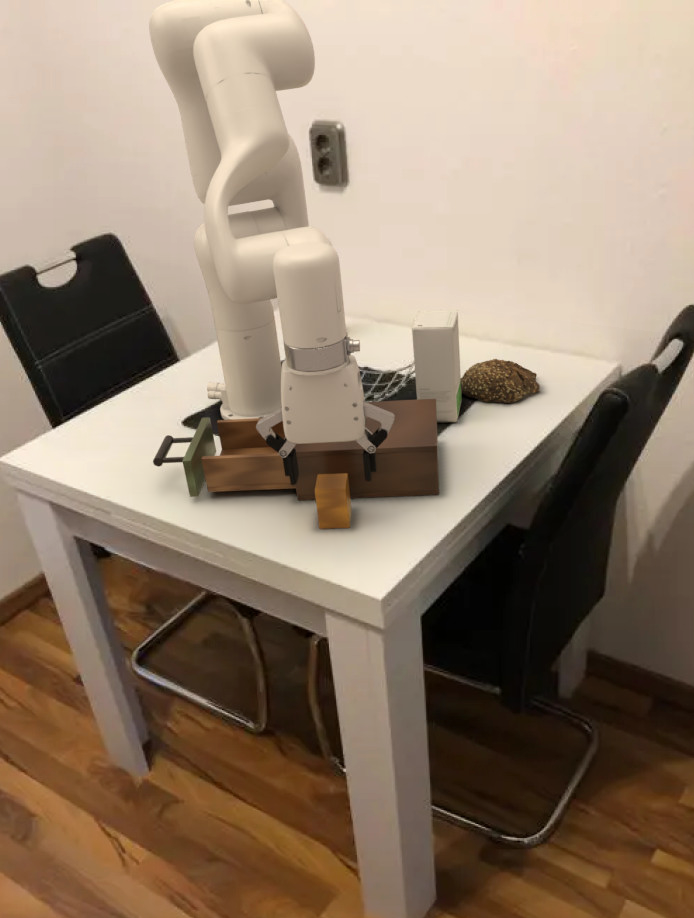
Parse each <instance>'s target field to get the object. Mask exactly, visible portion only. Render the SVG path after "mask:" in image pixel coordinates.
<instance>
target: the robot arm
mask: <svg viewBox="0 0 694 918" xmlns="http://www.w3.org/2000/svg"><path fill="white" fill-rule="evenodd" d="M148 30H149V37H150V43H151V47H152V51H153V54H154V57H155V59H156V63H157V64H158V65H157V66H158V67H159V69H160V72H161V73H162V75H163V77H164V79H165V81H166V83H167V85H168V87H169V88H170V91H171V93H172V94H173V96H174V99H175V102H176V104H177V107H178V111H179V114H180V115H179V116H180V120H181V126H182V131H183V138H184V143H185V149H186V153H187V158H188V164H189V169H190V174H191V179H192V184H193V187H194V191H195V194H196V196H197V199H199V200H200V202H201V203H202V204H203V205H204V208H203V220H204V221H203V223H202V224H201V225H200V226H199V227H198V228H197V229H196V231H195V233H194V237H193V246H194V252H195V256H196V259H197V262H198V265H199V269H200V271H201V274H202V277H203V280H204V283H205V287H206V289H207V294H208V298H209V303H210V307H211V308H210V309H211V313H212V319H213V324H214V329H215V334H216V340H217V341H216V342H217V346H218V352H219V357H220V362H221V369H222V374H223V375H222V376H223V379H224V380H223V381H224V383H220V382H213V381H212V382H211V381H210V382H208V383H207V385H206V390H207V391H206V392H207V399H209V400H220V401H221V402H222V404H221V405H220V408H219V410H220V416H221V418H222V420H232V419H252V418H262V419H260V420H259V421H258V422H257V425H256V429H257V430H258V432H259V433H260V434H261V436H262V437H263V438H264V439H265V440H266V443H267V445H269V446H270V447H271V448H273V449H274V450H275V451H277V452H278V453H279V456H280V457H282V458H283V465H284V471H285V476H289V477H290V483H291V485H295V484H297V480H298V476H299V470H298V463H297V456H296V449H294V447H295V445H296V444H309V443H329V442H346V441H356V442H357V443H358V444H360V445H361V446H362V447H363V448H364V450H363V462H364V472H365V481H366V480H367V481H371V477H372V472H376V470H377V465H376V454H375V451H376V448H377V447H378V446H379V445H380V444H381V443H382V442H383V441H384V440H385V439H386V438H387V435H388V433H389V431H390V429H391V427H392V425H393V423H394V419H395V415H394V414H393V413H391V412H389V411H386V410H384V409H381V408H379V407H376V406H374V405H371V404H369V403H367V402H368V401H366V400H365V393H364V386H363V382H362V376H361V372H360V368H359V365H358V361H357V358H356V356H355V355H353V354H354V353H355V352H360V351H361V342H360V339H355V340H354V338H353V339H352V338H351V337H350V336H349V335H348V332H347V326H346V313H345V305H344V304H345V303H344V294H343V285H342V274H341V265H340V257H339V255H338V252H337V250H336V249H335V248H334V247H333V244H332V243H333V242H332V241H331V239H330V238H329V237H327V236H326V234H325V233H324V231H322V230H321V229H320V228H318V227H315V226H310V222H309V215H308V207H307V206H308V205H307V200H306V189H305V183H304V173H303V168H302V161H301V158H300V153H299V150H298V147H297V145H296V143H295V140H294V139H293V137H292V136H291V135H290V133H289V132H288V130H287V125H286V122H285V117H284V115H283V111H282V109H281V108H282V107H281V105H280V101H279V97H278V95H277V92H280V91H286V90H294V89H300V88H303V87H305V86H308V85H309V83H310V82H311V81H312V79H313V77H314V73H315V69H316V57H315V50H314V45H313V41H312V38H311V35H310V31H309V30H308V27H307V26H306V24H305V22H304V20H303V18H302V17H301V16H300V14H299V13H298V12H297V11H296V10H295V9H294V7H293V6H292V5H290V4H289V3H287V2H286V1H285V0H171V1H167V2H164V3H163V4H160V5H159V6H157V7H156V8H155V9H154V10H153V11H152V12H151V14H150V17H149V23H148ZM267 200H270V201H271V202H272V203H273V206H272V207H267V208H261V209H255V210H246V211H242V212H236V213H230V214H229V207H231V206H238V205H244V204H250V203H255V202H262V201H267ZM275 299H277V305H278V312H279V318H280V326H281V333H282V341H283V347H284V355H285V360H283V361H281V353H280V347H279V340H278V331H277V325H276V317H275V311H274V307H273V304H272V301H271V300H275ZM367 417H369V418H372V419H374V420H377V421H379V422H381V425H380V427H379V428H378V429H377V430H376V431H375V432H374V433H371V432H370V431H369V430H368V429H367V428H366V427H365V424H366V422H367ZM281 421H283V427H284V433H285V438H284V439H283V438H282V437H280V436H279V435H278V434H276V433H275V432H273V430H272V428H271V427H273V426H274V425H276V424H278V423H279V422H281Z"/></svg>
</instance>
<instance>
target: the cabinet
mask: <svg viewBox="0 0 694 918" xmlns="http://www.w3.org/2000/svg"><path fill="white" fill-rule="evenodd" d="M366 402H367V403H369V404H371V405H374V406H376V407H379V408H381V409H384V410H386V411H389V412H391V413H393V414H394V415H395V419H394V423H393V425H392V427H391V429H390V431H389V433H388V435H387V438H386V439H385V440H384V441H383V442H382V443H381V444H380V445H379V446H378V447H377V448H376V451H375V454H376V465H377V470H376V472H372V477H371V481H367V480H366V481H365V472H364V462H363V450H364V448H363V447H362V446H361V445H360V444H358V443H357V442H356V441H346V442H329V443H309V444H296V445H295V447H294V449H296V456H297V463H298V470H299V476H298V480H297V484H296V488H295V492H296V497H297V501H312V500H315V501H316V497H315V486H316V481H317V476H318V475H319V474H342V473H348V481H349V491H350V499H360V498H364V499H365V498H387V497H411V496H412V497H413V496H438V495H440V480H439V479H440V478H439V477H440V475H439V474H440V473H439V472H440V471H439V439H438V422H437V411H436V399H418V400H417V399H399V400H383V401H381V400H379V401H366ZM380 425H381V422H379V421H377V420H374V419H372V418H369V417H367V422H366V424H365V427H366V428H367V429H368V430H369V431H370V432H371V433H374V432H375V431H376V430H377V429H378V428H379V427H380Z"/></svg>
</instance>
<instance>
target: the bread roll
mask: <svg viewBox="0 0 694 918" xmlns="http://www.w3.org/2000/svg"><path fill="white" fill-rule="evenodd" d="M537 375H538V374H537V373H536V372H533V371H532V370H530V369H528V368H525V367H523V366H522V365H520V364H519V363H517V362H514V361H512V360H504V359H497V358H493V359H490V360H484V361H482V362H476V363H475V364H473V365H471V366H470V367H469V368H468V369H466V370H465V372H464V373H463V375H462V376H461V395H464V396H466V397H468V398H471V399H476V400H479V401H481V402H484V403H485V402H486V403H503V404H512V403H515V402H518V401H520V400H521V399H522V398H524V397H525V396H527V395H530V394H537V393H539V392H540V390H541V386H540V385H541V384H539V383H538V381H537Z"/></svg>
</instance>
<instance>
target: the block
mask: <svg viewBox="0 0 694 918" xmlns="http://www.w3.org/2000/svg"><path fill="white" fill-rule="evenodd" d="M315 497H316V500H315V504H316V511H317V518H318V519H317V520H318V527H319V528H318V529H320V530H327V529H328V530H329V529H349V528H350V527H351V519H352V513H353V511H352V503H351V502H352V501H351V498H350V491H349V481H348V473H342V474H319V475H318V476H317V481H316V486H315Z"/></svg>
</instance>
